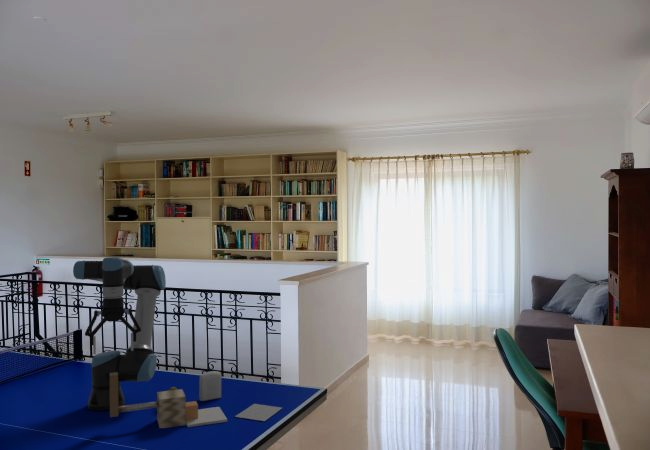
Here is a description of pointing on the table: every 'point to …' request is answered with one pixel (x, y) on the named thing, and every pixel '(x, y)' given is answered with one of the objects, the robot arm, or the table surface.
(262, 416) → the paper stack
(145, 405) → the handled brown block
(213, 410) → the mat
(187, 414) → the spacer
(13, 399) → the table surface
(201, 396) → the photo printer
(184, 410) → the bearing block
